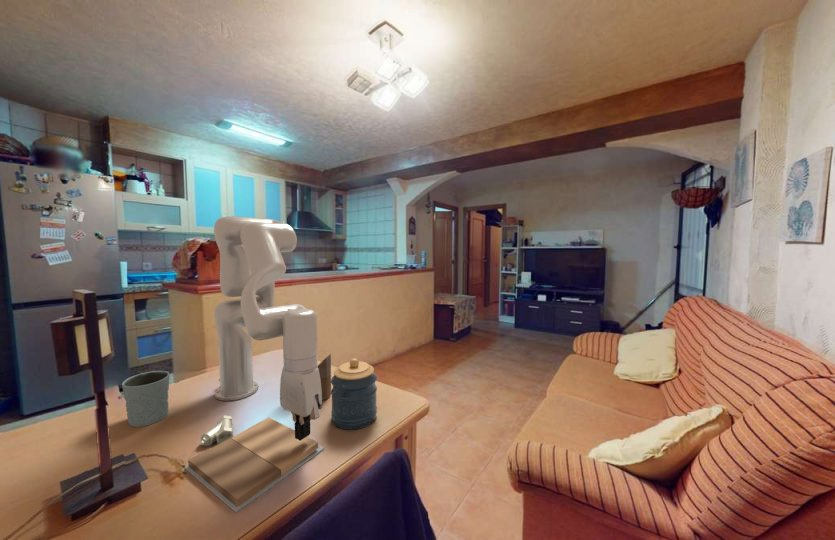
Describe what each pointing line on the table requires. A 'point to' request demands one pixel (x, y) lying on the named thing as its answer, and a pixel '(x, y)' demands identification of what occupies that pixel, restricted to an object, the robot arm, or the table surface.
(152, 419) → the grey pot
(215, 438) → the pipe fitting
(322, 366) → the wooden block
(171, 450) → the table surface
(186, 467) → the underlay mat
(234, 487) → the floor board
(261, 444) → the plank
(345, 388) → the canister
